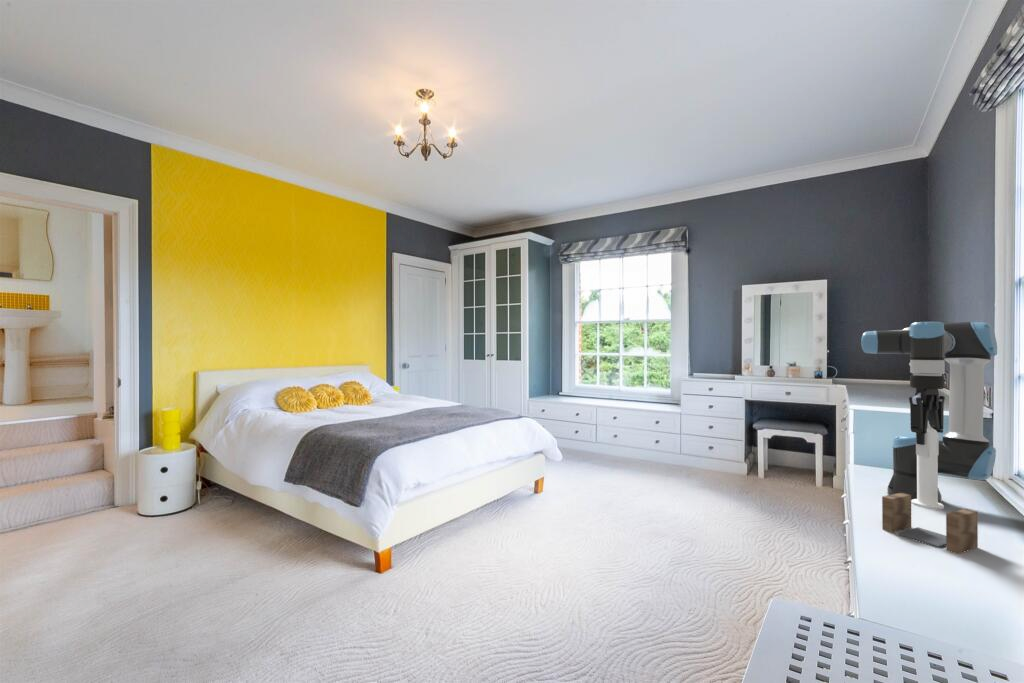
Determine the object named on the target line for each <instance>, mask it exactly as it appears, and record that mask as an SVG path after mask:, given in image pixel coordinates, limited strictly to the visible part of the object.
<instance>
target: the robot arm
mask: <svg viewBox="0 0 1024 683" xmlns="http://www.w3.org/2000/svg"><path fill="white" fill-rule="evenodd" d="M997 343H998V342H997V338H996V334H995V330H994V328H993V327H992V325H991V324H990V323H988V322H982V321H981V322H980V321H978V322H977V321H974V322H973V321H967V322H963V321H962V322H945V323H944V322H941V321H919V322H918V321H915V322H912V323H911V324H910V325H909V327H905V328H903V329H894V330H870V331H869V330H867V331H865V332H863V333H862V336H861V340H860V344H861V345H860V346H861V348H862V351H863V353H865V354H874V355H877V354H878V355H879V354H880V355H881V354H883V355H889V354H890V355H891V354H893V355H909V360H910V361H909V363H908V366H909V367H910V368H909V373H911V374H910V376H909V386H910V388H914V389H915V393H914V396H909V397H908V401H909V405H910V406H909V407H910V410H909V411H910V418H909V419H910V431H911V433H912V434H911V433H910V434H907V433H906V434H899V435H896V436H894V437H893V444H892V456H893V458H892V464H893V466H892V467H893V469H892V471H893V472H892V476H891V477H890V478H891V479H890V481H889V483H888V485H887V492H886V493H887V494H888V495H892V494H897V493H905V494H909V495H911V500H912V499H917V455H919V456H925V457H929V434H926V433H927V425H928V421H929V424H930V426H931V427H932V428H933V429H934V430H936V431H937V432H938V474H940V475H946V476H947V475H948V476H952V477H959V478H965V479H967V480H979V481H986V480H988V479H989V478H991V475H992V473H993V470H994V467H995V463H996V457H997V456H996V455H997V454H996V453H997V451H996V450H997V449H996V447H994V446H992V445H990V440H989V439H987V438H986V437H985V436H984V398H985V396H984V391H985V389H984V388H985V384H984V383H985V366H986V364H988V363H990V362H991V358H992V357H994V356H997V355H998V344H997ZM945 362H947V363H948V364H949V393H948V394H949V396H948V398H949V399H948V400H949V402H948V431H947V432H946V433H945V434H943V433H944V418H945V417H944V413H945V412H944V408H945V407H944V404H945V396H944V395H940V393H939V390H943V389H945V386H946V385H945V384H946V382H945V376H944V375H945V373H946V369H945V365H946V363H945ZM914 433H915V434H914ZM940 433H941V434H942V440H940V439H939V438H940V437H939V434H940ZM941 501H942V494H941V491H940V488H939V487H938V503H940V502H941ZM941 503H942V502H941Z"/></svg>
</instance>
